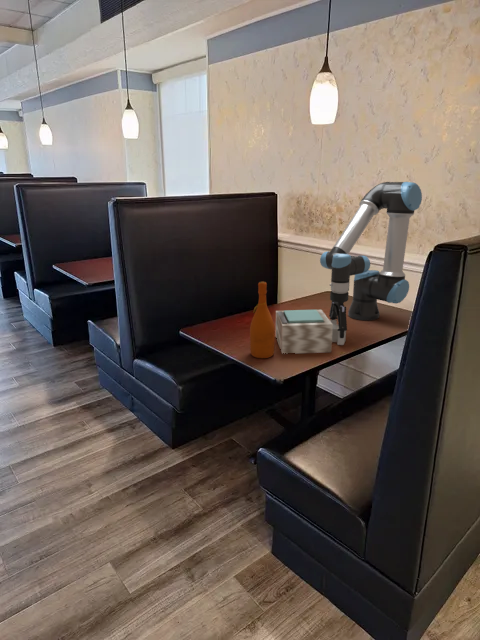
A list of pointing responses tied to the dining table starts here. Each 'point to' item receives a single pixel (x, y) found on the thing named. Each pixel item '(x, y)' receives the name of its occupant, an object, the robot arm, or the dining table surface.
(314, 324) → the crate
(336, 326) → the light grey cube
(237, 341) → the dining table surface
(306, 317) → the trapdoor
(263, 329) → the wine bottle
